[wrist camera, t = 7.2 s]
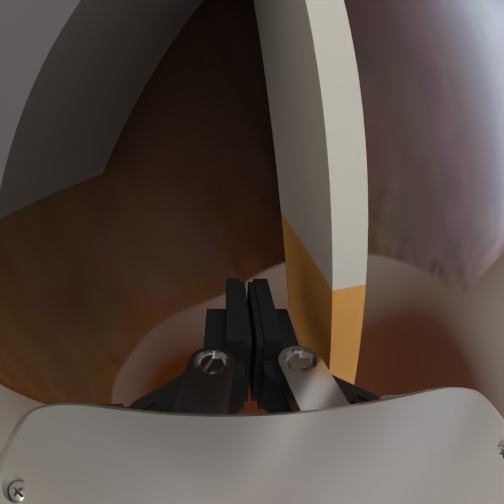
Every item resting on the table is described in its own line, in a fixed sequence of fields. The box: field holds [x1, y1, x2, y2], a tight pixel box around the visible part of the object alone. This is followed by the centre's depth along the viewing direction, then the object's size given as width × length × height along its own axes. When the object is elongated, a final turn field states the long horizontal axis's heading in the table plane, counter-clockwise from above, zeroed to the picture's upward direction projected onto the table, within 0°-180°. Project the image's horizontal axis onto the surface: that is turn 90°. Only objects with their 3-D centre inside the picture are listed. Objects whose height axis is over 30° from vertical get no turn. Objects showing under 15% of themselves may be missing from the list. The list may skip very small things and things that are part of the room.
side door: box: [254, 0, 368, 385], centre depth 10 cm, size 22×1×8 cm, turn 7°
